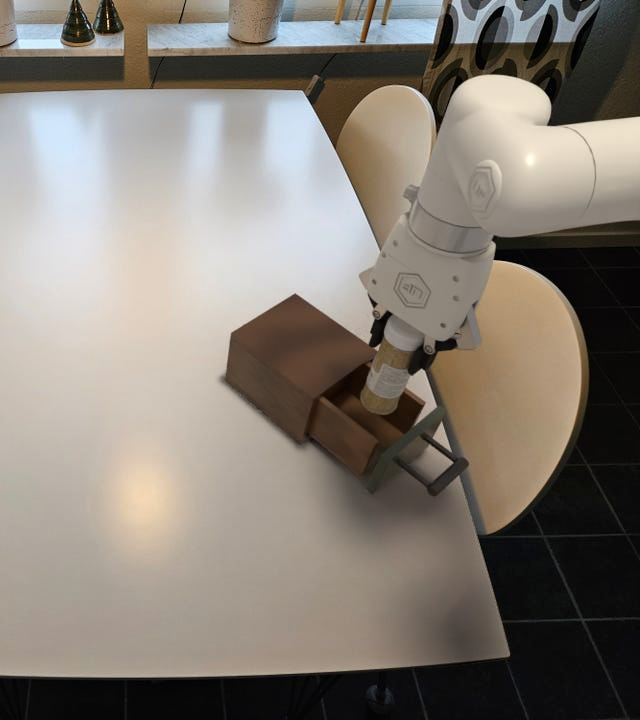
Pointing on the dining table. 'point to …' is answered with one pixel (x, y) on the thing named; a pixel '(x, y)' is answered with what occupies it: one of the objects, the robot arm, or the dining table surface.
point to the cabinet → (292, 361)
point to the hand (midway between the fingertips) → (398, 353)
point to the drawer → (379, 434)
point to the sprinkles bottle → (391, 366)
